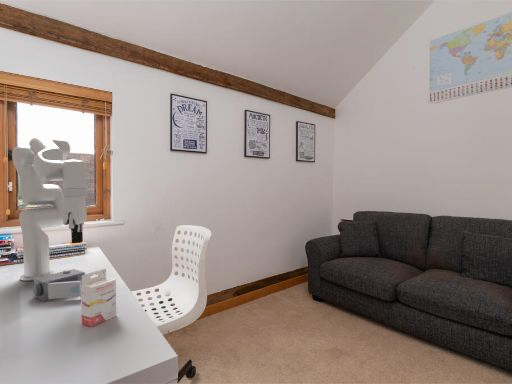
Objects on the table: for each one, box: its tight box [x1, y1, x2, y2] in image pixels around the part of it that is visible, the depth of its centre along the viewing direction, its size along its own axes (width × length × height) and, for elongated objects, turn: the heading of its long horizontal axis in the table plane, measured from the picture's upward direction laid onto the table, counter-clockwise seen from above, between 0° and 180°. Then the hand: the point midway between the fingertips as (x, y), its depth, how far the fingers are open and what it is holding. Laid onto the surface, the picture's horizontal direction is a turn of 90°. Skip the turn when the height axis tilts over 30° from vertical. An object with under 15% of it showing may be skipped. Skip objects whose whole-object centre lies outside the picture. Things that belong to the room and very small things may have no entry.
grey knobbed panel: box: [33, 268, 86, 303], centre depth 112 cm, size 9×16×8 cm, turn 146°
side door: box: [45, 281, 81, 301], centre depth 105 cm, size 2×12×6 cm, turn 101°
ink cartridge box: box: [80, 268, 117, 328], centre depth 89 cm, size 9×5×15 cm, turn 155°
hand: (77, 242), depth 109 cm, fingers closed
